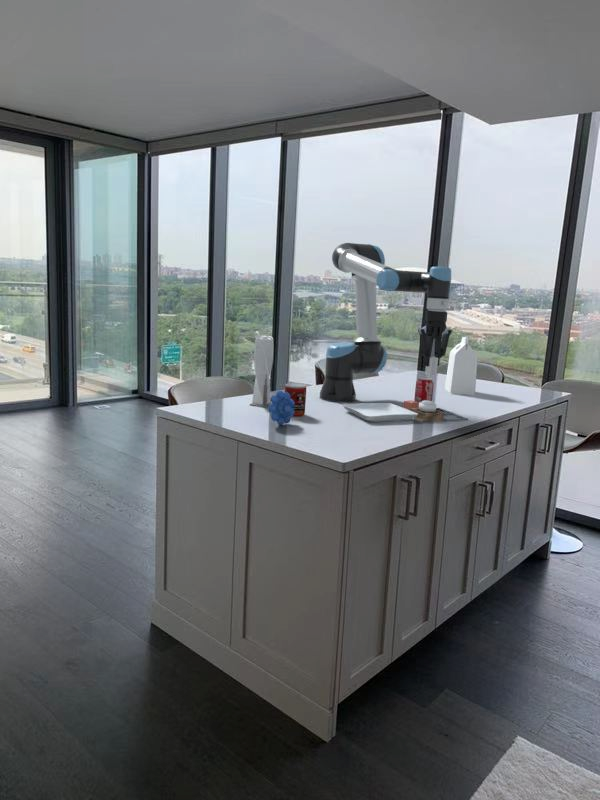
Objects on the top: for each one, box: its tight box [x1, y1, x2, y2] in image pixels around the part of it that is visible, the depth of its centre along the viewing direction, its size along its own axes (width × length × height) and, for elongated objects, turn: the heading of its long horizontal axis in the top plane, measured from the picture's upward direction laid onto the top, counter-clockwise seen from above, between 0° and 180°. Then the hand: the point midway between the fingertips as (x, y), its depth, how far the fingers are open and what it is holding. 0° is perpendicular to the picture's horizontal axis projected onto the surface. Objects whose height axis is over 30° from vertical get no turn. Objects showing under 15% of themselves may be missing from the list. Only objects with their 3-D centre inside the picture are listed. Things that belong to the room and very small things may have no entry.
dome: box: [419, 400, 437, 412], centre depth 228 cm, size 6×6×3 cm
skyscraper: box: [249, 330, 275, 408], centre depth 235 cm, size 8×8×28 cm
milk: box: [444, 336, 478, 396], centre depth 289 cm, size 12×12×26 cm
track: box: [436, 407, 469, 422], centre depth 237 cm, size 10×19×1 cm, turn 21°
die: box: [402, 400, 419, 410], centre depth 239 cm, size 4×4×4 cm
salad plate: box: [342, 402, 418, 423], centre depth 228 cm, size 21×21×3 cm
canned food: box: [284, 382, 307, 418], centre depth 222 cm, size 8×8×11 cm
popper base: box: [410, 408, 445, 422], centre depth 229 cm, size 9×9×3 cm
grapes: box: [268, 390, 295, 426], centre depth 204 cm, size 12×7×12 cm, turn 137°
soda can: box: [413, 376, 434, 407], centre depth 249 cm, size 7×7×12 cm
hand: (430, 374), depth 226 cm, fingers open, 2 cm apart
